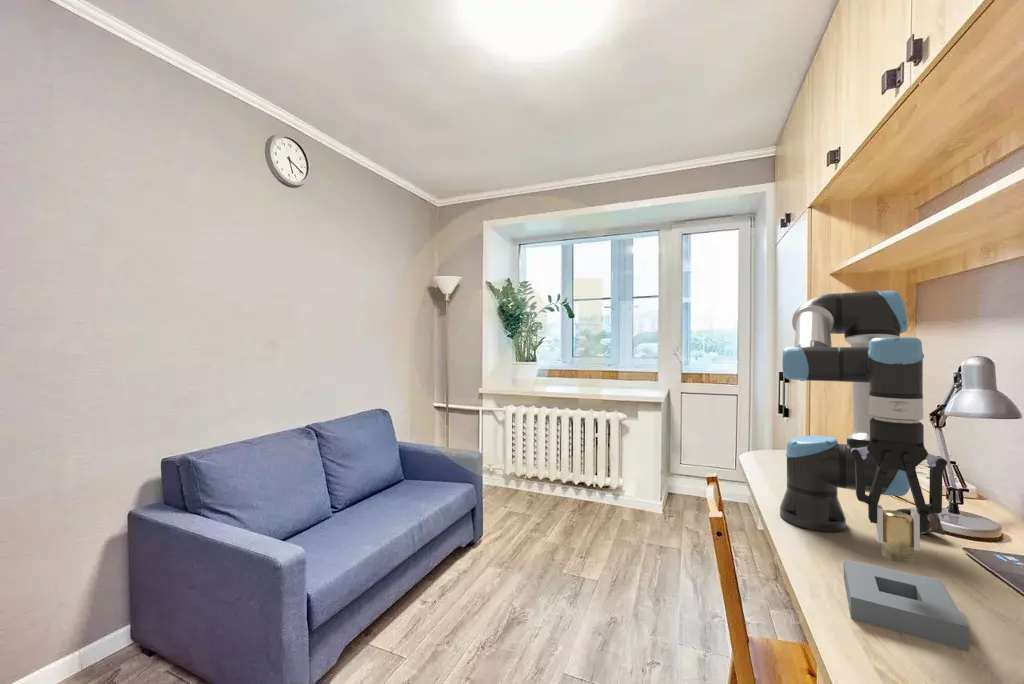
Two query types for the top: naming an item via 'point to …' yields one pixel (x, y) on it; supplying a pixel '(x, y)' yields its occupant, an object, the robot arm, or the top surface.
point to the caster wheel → (932, 519)
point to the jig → (904, 604)
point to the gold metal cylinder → (897, 536)
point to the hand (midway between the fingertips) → (897, 543)
